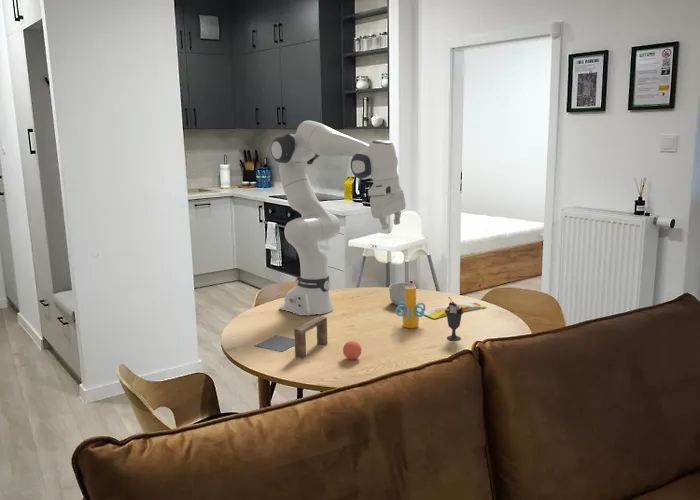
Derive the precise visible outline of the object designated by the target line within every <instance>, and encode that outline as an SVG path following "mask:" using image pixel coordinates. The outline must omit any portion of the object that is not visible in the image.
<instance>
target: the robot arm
mask: <svg viewBox="0 0 700 500" xmlns="http://www.w3.org/2000/svg"><path fill="white" fill-rule="evenodd" d="M395 148H396V147H395V145H394V144H393V142H392V141H390V140H388V139H375V140H372V141H371V142H370V143H367V142H365V141H362V140H360V139H357V138H354V137H352V136H349V135H346V134H345V133H342V132H340V131H338V130H335V129H333V128H331V127H329V126H327V125H325V124H323V123H321V122H318V121H314V120H309V119H308V120H304V121H302V122H301V123H299V125H298V127H297V129H296V132H295V133H294V134H293V133H292V134H289V133H286V134H283V135H280V136H277V137H275V138H273V140H272V142H271V144H270V153H271V156H272V158H273V160H274V161H275V162H277V163H280V164H279V166H278V173H279V178H280V182H281V186H282V189H283V192H284V194H285V197H286V199H287V202H288V205H289V207H290V208H291V209H292V210H294V211H296V212H297V213H299V214H300V215H301V216H302V217H297V218H294V219H292V220H290V221H287V223H286V224H285V226H284V237H285V240H286V241H287V242H288V244H289V245H291V246H292V247H293V248H294V249H295V250H296V253H297V256H298V258H299V259H298V260H299V265H300V266H299V267H300V269H299V270H300V275H299V276H298V277H297V278H296V277H295V282H297V284H296V285H295V286H294V287H293V288H291V289H290V290H289V291H288V292H286V294H285V296H284V302H283V303H281V304H280V305H279V307H278V309H279V308H280V309H283V310H287V311H290V312H294V313H297V314H296V315H298V314H300V315H299V316H301V315H307V316H313V315H316V314H318V315H323V314H324V315H325V314H327V313H330V312H332V311H333V310H334V308H333V305H332V301H331V296H330V275H329V266H328V265H329V264H328V263H329V262H328V257H327V255H326V254H325V253H323V252H322V251H320V249H319V246H318V245H319V243H320V242H325V241H329V240H331V239H333V238H335V237H338V235H339V234H340V231H341V222H340V220H339V218H338V217H337V216H336V215H335V214H333V213H331V212H330V211H328V210H327V209H326V207H324V206H323V204H322V203H321V202H320V201H319V199H318V198H317V196H316V194H315V191H314V189H313V187H312V183H311V181H310V179H309V175H308V173H307V170H306V166H307V165H312V164H313V163H314V161H315V160H317V159H318V158H319V157H320V156H321V157H324V158H327V159H329V158H340V157H351V159H350V170H351V173H352V174H353V176H354V177H355V178H357V179H358V180H368V179H372V183H373V184H372V185H371V186H370V188H369V189H368V190H367V195H368V197H369V205H370V212H371V213H370V214H371V216H372V218H374V219H379V220H378V221H379V222H380V225H381V228H382V229H381V230H383V231H385V230H386V231H387V230H389V228H390V226H389V223H388V222H387V217H388V216H390V215H391V216H392V215H394V217H393V225H395V226H396V225H399V224H401V215H402V213H401V212H402V211H403V210H406V206H407V205H406V199H405V195H404V191H403V189H402V188H401V185H400V184H401V183H400V177H399V174H398V157H397V151H396V149H395ZM280 309H279V310H280ZM283 310H282V311H283ZM287 311H286V312H287ZM290 312H289V313H290ZM294 313H293V314H294Z"/></svg>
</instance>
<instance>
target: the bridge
mask: <svg viewBox="0 0 700 500" xmlns="http://www.w3.org/2000/svg"><path fill="white" fill-rule="evenodd" d="M314 328H316V343H317V345H318V346H323V347H325V346H327V345H328V344H329V343H328V318H327V317H326V316H321V315H320V316H317V317H315V318H313V319H312V320H309V321H307V322H305V323H303V324H301V325H300V326H298V327H296V328H294V330H293V331H294V339H295V345H294V357H295V358H297V359H298V358H299V359H304V358H306V357H307V343H306V341H307V339H306V338H307V337H306V333H307V332H308V331H310V330H312V329H314Z"/></svg>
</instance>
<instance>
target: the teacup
mask: <svg viewBox="0 0 700 500" xmlns="http://www.w3.org/2000/svg"><path fill="white" fill-rule="evenodd" d="M407 286H415V287H416V285H415V284H414V283H412V282H399V281H397V282H395V283H393V284H389V287H388V289H389V298H390V301H391V302H392V303H393V304H394V305H396V306H398V304H399V303H400V302H404V303H405V287H407ZM401 305H403V306H404V304H401Z"/></svg>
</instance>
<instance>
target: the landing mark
mask: <svg viewBox="0 0 700 500" xmlns="http://www.w3.org/2000/svg"><path fill="white" fill-rule="evenodd" d="M254 347H258V348H261V349H267V350H271V351H275V352H281V353H283V352H285V351H287V350H288V349H290V348H292V347H295V337H294V338H293V337H290V336H289V337H288V336H283V335H280V334H279V335H278V334H274V335H272V336H270V337H269V338H266V339H264V340H262V341H260V342H259V343H257V344H254Z"/></svg>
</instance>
